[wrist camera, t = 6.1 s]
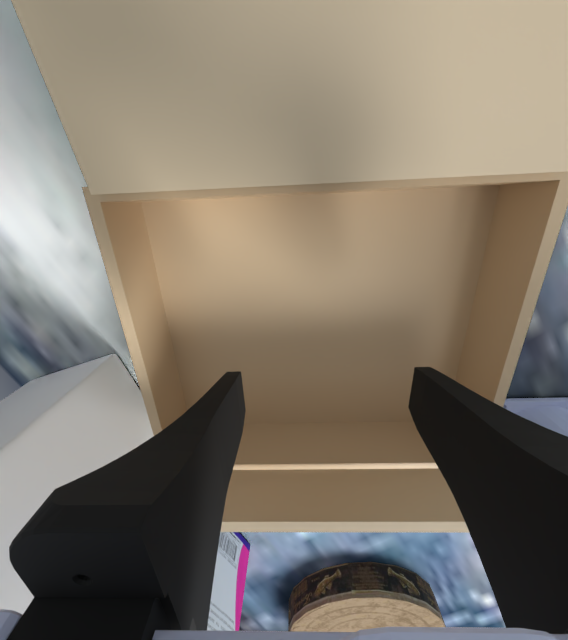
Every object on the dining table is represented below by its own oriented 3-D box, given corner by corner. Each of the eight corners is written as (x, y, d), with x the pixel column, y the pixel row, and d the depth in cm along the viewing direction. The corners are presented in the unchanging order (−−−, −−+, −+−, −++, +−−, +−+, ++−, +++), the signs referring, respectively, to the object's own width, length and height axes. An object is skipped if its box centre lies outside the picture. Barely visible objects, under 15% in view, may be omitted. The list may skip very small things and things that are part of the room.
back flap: (171, 470, 18) (171, 477, 18) (115, 521, 12) (114, 531, 12) (476, 468, 17) (477, 475, 17) (562, 521, 11) (564, 532, 11)
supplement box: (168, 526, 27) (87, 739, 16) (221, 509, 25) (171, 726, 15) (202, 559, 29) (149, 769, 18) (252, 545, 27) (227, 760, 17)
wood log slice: (358, 538, 27) (366, 576, 24) (464, 597, 31) (481, 637, 28) (260, 603, 32) (257, 641, 29) (360, 648, 36) (366, 685, 33)
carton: (507, 172, 15) (581, 161, 11) (449, 422, 21) (483, 469, 17) (132, 191, 15) (81, 187, 12) (185, 426, 22) (164, 471, 18)
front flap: (574, 171, 10) (565, 169, 11) (688, -65, 7) (671, -57, 8) (91, 194, 11) (97, 192, 12) (7, -10, 8) (17, -5, 8)
